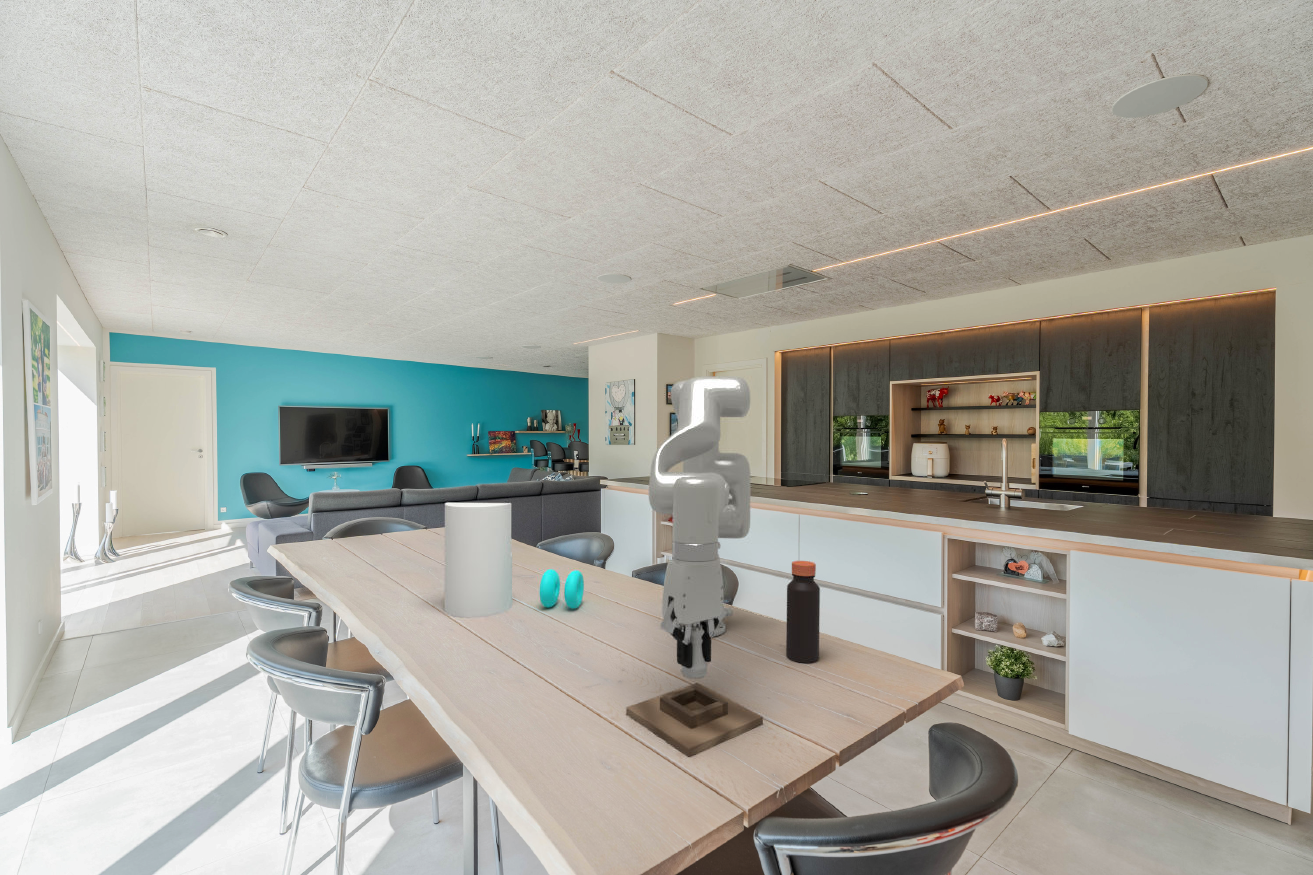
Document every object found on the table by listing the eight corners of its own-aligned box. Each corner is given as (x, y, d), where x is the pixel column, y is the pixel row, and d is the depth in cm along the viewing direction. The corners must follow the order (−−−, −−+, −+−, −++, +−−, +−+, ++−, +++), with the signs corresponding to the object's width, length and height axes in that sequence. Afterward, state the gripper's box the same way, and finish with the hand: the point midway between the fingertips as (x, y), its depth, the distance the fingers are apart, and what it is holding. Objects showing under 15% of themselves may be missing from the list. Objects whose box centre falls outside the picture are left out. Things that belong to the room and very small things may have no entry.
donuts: (550, 600, 163) (550, 565, 163) (584, 602, 161) (585, 566, 161) (537, 611, 153) (538, 573, 153) (574, 613, 151) (575, 575, 151)
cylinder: (501, 618, 148) (502, 507, 147) (433, 617, 148) (434, 506, 147) (518, 598, 165) (519, 499, 164) (457, 597, 165) (458, 498, 165)
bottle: (821, 654, 125) (822, 561, 125) (816, 665, 119) (817, 568, 119) (789, 649, 128) (790, 558, 128) (782, 660, 122) (784, 564, 122)
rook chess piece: (678, 668, 98) (679, 621, 98) (705, 668, 99) (705, 621, 99) (682, 679, 94) (682, 630, 94) (709, 679, 94) (710, 629, 94)
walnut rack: (697, 688, 108) (697, 671, 108) (762, 723, 95) (763, 704, 95) (626, 714, 98) (626, 695, 98) (688, 756, 86) (688, 735, 86)
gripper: (715, 542, 104) (714, 645, 104) (641, 553, 94) (640, 667, 94) (746, 549, 98) (745, 658, 99) (670, 561, 88) (669, 682, 88)
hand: (694, 661), depth 96 cm, fingers closed on rook chess piece, 3 cm apart
